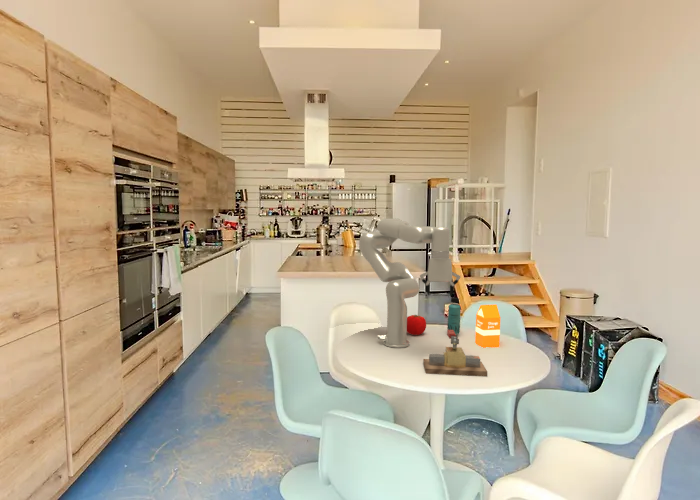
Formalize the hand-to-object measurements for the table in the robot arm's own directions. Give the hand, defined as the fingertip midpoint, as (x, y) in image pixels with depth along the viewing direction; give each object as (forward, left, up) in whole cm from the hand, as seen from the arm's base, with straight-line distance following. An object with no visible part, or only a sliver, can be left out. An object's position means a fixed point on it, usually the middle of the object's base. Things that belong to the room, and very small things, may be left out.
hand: (439, 294), depth 193 cm
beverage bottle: (+12, +38, -29) cm, 49 cm away
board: (+5, -14, -28) cm, 32 cm away
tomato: (-8, +38, -29) cm, 48 cm away
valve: (+5, -14, -26) cm, 30 cm away
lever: (+5, -8, -18) cm, 20 cm away
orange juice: (+26, +23, -29) cm, 45 cm away
